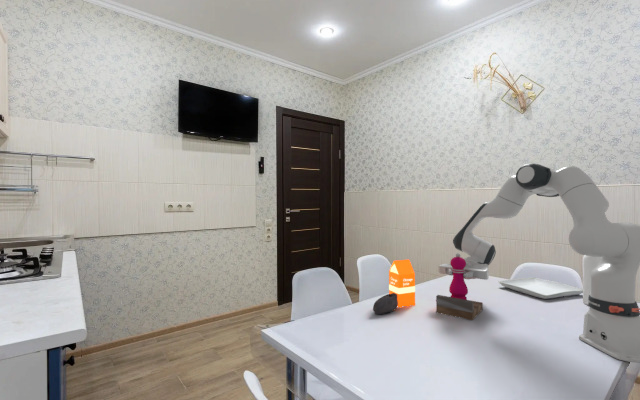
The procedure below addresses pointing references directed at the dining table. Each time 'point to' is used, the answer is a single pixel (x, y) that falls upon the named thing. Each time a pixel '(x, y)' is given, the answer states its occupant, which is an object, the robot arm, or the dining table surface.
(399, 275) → the orange juice
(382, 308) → the perforated stone tool
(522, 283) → the square plate
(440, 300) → the walnut stand
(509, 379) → the dining table surface
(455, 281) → the pepper mill
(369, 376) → the dining table surface
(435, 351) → the dining table surface
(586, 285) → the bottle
